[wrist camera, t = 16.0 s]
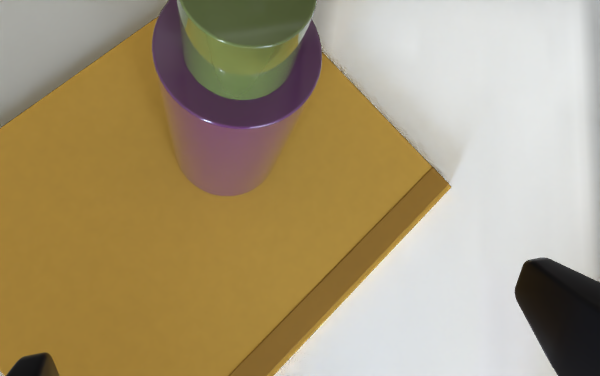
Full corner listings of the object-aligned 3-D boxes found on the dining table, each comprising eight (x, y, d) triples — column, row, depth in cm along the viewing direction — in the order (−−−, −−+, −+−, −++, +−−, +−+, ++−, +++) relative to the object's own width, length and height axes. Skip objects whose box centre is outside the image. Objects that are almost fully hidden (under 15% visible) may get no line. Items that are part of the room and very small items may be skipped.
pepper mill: (260, 210, 22) (320, 112, 10) (159, 177, 22) (100, 35, 10) (289, 117, 24) (373, -64, 12) (194, 84, 23) (180, -141, 11)
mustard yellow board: (137, 516, 19) (136, 521, 19) (-128, 224, 20) (-136, 222, 19) (448, 188, 25) (452, 186, 24) (235, -34, 25) (235, -40, 25)
